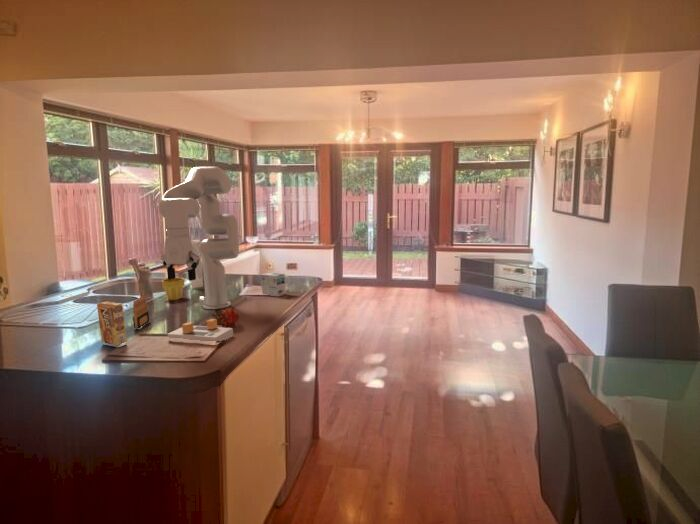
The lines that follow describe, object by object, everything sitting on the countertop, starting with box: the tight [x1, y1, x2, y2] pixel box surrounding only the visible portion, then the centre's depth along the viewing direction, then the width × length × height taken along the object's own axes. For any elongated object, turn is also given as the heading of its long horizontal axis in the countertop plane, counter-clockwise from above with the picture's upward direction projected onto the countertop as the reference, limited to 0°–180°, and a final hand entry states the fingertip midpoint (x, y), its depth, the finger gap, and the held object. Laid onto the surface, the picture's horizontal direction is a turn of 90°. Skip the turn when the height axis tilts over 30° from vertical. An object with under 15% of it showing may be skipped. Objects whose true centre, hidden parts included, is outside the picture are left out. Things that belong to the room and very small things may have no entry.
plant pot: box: [161, 277, 185, 301], centre depth 241 cm, size 10×10×10 cm
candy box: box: [96, 301, 128, 345], centre depth 169 cm, size 9×4×15 cm, turn 61°
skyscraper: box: [190, 238, 205, 290], centre depth 264 cm, size 8×8×28 cm
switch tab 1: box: [181, 321, 194, 333], centre depth 172 cm, size 2×3×3 cm
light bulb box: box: [260, 272, 287, 297], centre depth 242 cm, size 11×7×11 cm, turn 58°
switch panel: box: [167, 325, 234, 341], centre depth 174 cm, size 20×11×3 cm, turn 72°
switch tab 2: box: [205, 318, 218, 329], centre depth 176 cm, size 2×3×3 cm
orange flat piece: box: [132, 294, 150, 329], centre depth 192 cm, size 11×2×12 cm, turn 0°
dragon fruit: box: [214, 306, 240, 328], centre depth 188 cm, size 8×8×12 cm
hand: (181, 279), depth 176 cm, fingers open, 9 cm apart
